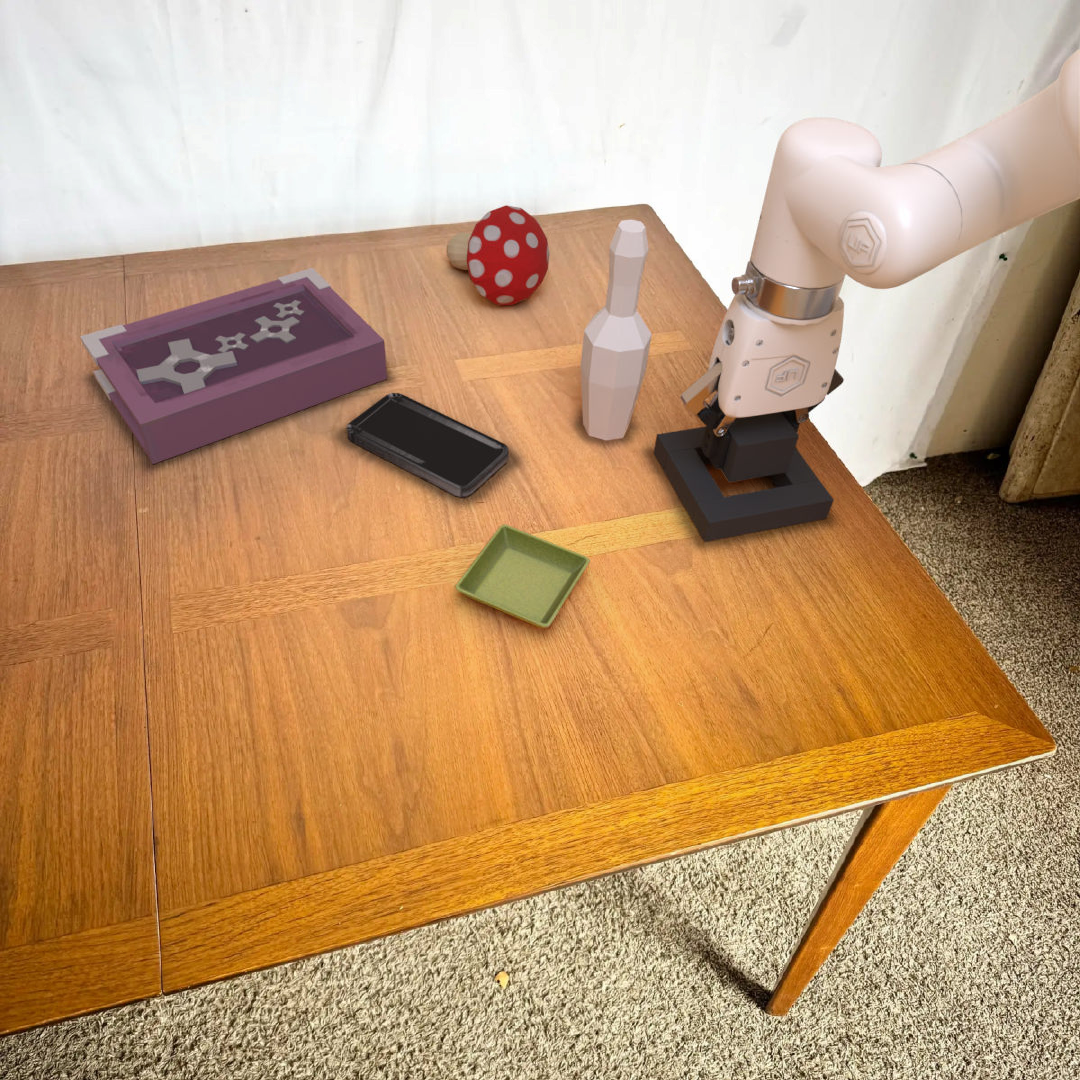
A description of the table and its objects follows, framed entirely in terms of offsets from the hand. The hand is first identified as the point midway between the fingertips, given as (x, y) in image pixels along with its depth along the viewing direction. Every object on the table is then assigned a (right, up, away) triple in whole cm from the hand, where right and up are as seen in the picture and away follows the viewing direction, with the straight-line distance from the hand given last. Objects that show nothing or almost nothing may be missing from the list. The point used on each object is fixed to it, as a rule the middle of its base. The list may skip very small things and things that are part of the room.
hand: (745, 452), depth 90 cm
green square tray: (-21, -13, -8) cm, 25 cm away
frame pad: (0, -3, +3) cm, 4 cm away
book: (-50, +9, +11) cm, 52 cm away
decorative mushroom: (-25, +22, +26) cm, 42 cm away
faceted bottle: (-13, +3, +8) cm, 15 cm away
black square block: (0, 0, 0) cm, 1 cm away
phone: (-30, +1, +4) cm, 31 cm away
